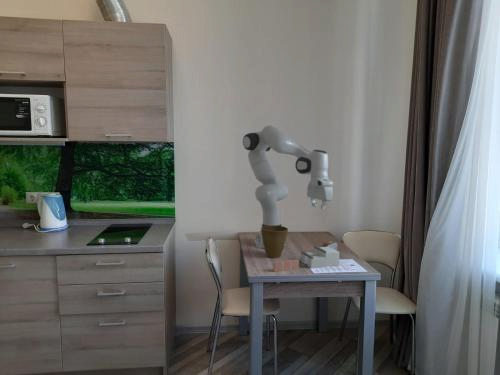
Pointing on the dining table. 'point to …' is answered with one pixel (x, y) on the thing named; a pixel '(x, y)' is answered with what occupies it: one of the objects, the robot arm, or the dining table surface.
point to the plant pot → (274, 240)
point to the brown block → (285, 265)
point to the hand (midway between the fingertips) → (318, 207)
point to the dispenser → (321, 257)
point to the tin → (331, 244)
